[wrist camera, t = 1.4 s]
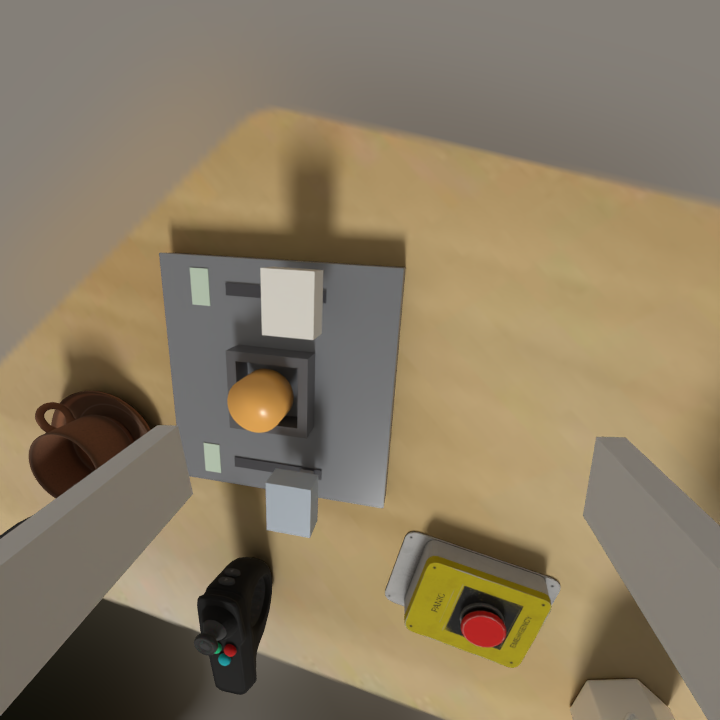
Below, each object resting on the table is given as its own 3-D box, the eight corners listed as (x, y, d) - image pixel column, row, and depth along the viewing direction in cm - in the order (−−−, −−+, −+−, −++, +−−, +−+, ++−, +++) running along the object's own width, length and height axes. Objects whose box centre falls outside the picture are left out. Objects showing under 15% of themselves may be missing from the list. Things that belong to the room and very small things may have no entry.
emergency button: (536, 692, 33) (377, 633, 35) (524, 644, 37) (383, 592, 39) (580, 621, 30) (405, 560, 32) (562, 577, 35) (408, 524, 36)
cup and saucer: (53, 439, 41) (-9, 471, 35) (93, 361, 37) (30, 382, 31) (139, 506, 41) (92, 547, 35) (187, 435, 37) (143, 469, 32)
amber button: (293, 371, 29) (282, 381, 27) (293, 422, 30) (282, 436, 28) (241, 365, 29) (225, 375, 27) (243, 415, 31) (228, 428, 28)
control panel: (405, 267, 29) (401, 269, 25) (385, 494, 35) (380, 524, 31) (175, 252, 32) (140, 252, 28) (193, 463, 38) (168, 487, 34)
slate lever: (327, 457, 32) (310, 490, 28) (325, 499, 33) (309, 537, 29) (288, 451, 32) (265, 482, 28) (288, 493, 34) (266, 530, 29)
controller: (274, 535, 39) (224, 626, 29) (283, 623, 42) (241, 730, 33) (236, 530, 40) (176, 617, 30) (248, 617, 43) (197, 720, 34)
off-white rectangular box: (333, 268, 27) (314, 271, 23) (331, 326, 29) (313, 340, 24) (287, 265, 28) (260, 267, 23) (287, 322, 29) (261, 335, 25)
